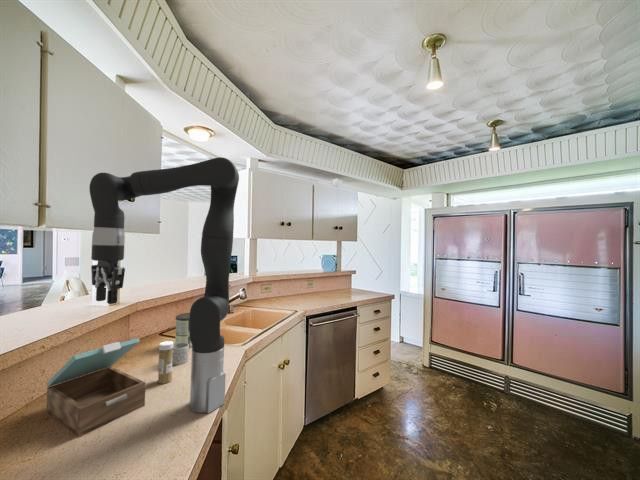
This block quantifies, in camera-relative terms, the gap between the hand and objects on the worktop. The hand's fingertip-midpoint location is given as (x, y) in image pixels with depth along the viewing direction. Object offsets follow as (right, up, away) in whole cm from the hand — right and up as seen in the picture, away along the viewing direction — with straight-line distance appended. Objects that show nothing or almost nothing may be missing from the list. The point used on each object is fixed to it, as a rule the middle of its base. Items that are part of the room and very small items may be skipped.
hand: (106, 301), depth 81 cm
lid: (-4, -19, +2) cm, 19 cm away
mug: (+3, -32, +33) cm, 46 cm away
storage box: (-4, -32, +1) cm, 32 cm away
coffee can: (-2, -32, +52) cm, 62 cm away
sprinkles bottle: (+7, -32, +18) cm, 38 cm away
